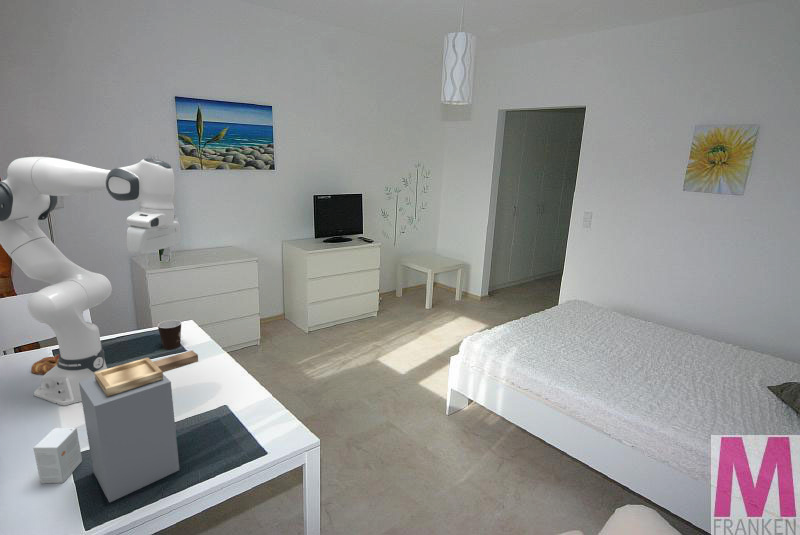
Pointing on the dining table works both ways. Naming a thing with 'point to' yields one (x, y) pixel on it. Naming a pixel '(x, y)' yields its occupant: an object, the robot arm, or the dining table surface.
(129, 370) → the oak tray
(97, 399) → the tall grey pillar block
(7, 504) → the dining table surface
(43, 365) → the pretzel
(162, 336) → the coffee mug
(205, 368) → the dining table surface
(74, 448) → the small box
